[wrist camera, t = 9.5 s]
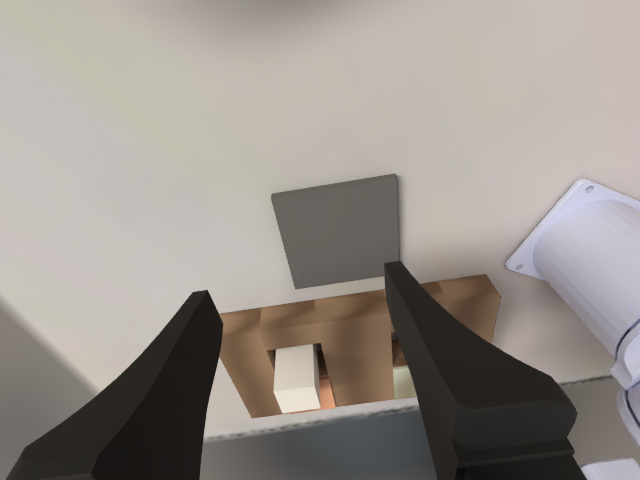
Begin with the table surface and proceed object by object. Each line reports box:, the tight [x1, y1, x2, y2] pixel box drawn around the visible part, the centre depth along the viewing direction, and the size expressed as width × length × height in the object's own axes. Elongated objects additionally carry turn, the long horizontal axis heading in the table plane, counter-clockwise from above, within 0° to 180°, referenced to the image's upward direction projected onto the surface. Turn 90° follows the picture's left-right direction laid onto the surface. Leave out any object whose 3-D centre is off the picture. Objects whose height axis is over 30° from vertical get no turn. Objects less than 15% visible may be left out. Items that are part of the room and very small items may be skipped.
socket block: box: [219, 274, 501, 418], centre depth 30 cm, size 22×12×3 cm, turn 99°
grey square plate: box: [271, 174, 399, 289], centre depth 24 cm, size 8×8×1 cm
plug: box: [274, 343, 321, 413], centre depth 28 cm, size 3×3×6 cm
